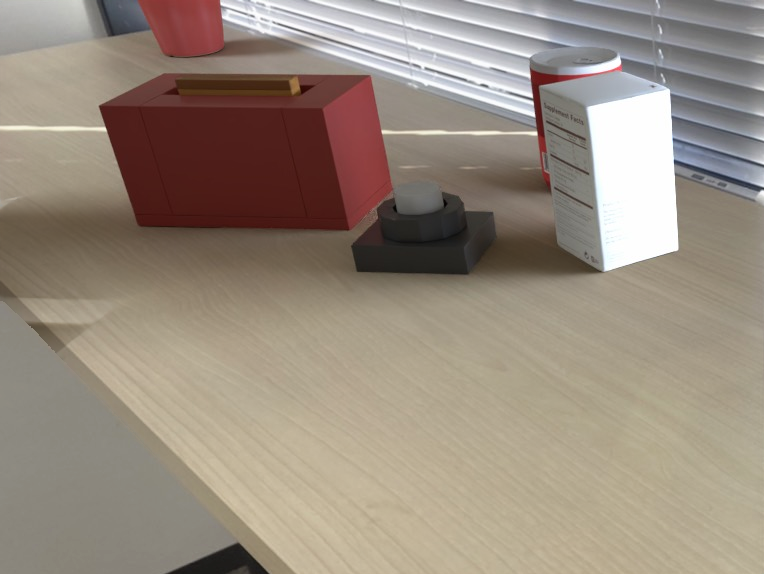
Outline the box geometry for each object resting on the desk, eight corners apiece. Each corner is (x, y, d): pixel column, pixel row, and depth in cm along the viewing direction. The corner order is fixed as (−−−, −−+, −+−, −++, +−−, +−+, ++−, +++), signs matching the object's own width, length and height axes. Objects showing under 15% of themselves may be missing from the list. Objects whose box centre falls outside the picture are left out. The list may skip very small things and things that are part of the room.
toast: (208, 198, 102) (174, 79, 96) (217, 191, 103) (184, 74, 98) (317, 200, 101) (288, 80, 95) (324, 194, 102) (297, 75, 97)
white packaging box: (632, 226, 97) (620, 67, 90) (680, 252, 92) (672, 86, 85) (554, 246, 94) (535, 83, 86) (600, 274, 89) (585, 104, 82)
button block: (356, 272, 90) (345, 222, 88) (392, 235, 97) (382, 187, 94) (468, 275, 89) (460, 224, 87) (497, 237, 96) (490, 189, 93)
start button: (390, 218, 90) (386, 195, 89) (406, 202, 93) (402, 180, 91) (435, 219, 89) (431, 196, 88) (450, 203, 92) (446, 181, 91)
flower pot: (150, 64, 147) (125, -20, 142) (150, 46, 156) (126, -34, 150) (238, 55, 151) (217, -28, 145) (233, 38, 159) (213, -41, 153)
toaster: (137, 225, 100) (98, 105, 94) (197, 185, 108) (163, 72, 102) (349, 230, 98) (322, 108, 92) (393, 189, 106) (370, 74, 100)
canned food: (626, 196, 103) (616, 66, 97) (537, 197, 104) (521, 67, 97) (633, 169, 110) (624, 45, 103) (549, 170, 110) (535, 46, 103)
